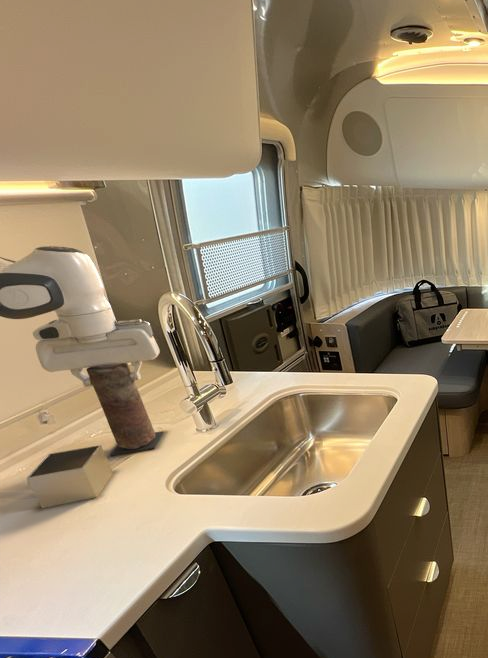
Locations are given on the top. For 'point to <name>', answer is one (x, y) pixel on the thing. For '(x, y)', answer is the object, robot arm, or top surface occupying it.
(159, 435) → the mat
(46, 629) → the top surface
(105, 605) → the top surface
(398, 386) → the top surface
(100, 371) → the candle
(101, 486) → the beige open box
